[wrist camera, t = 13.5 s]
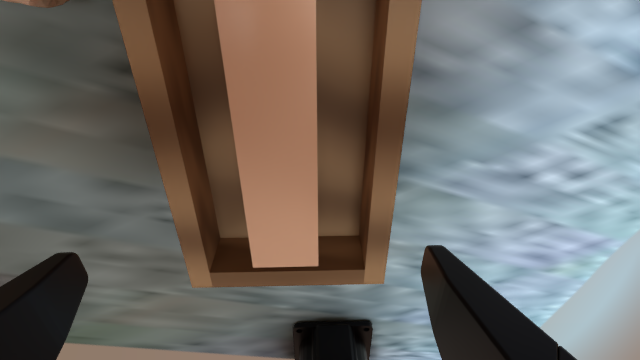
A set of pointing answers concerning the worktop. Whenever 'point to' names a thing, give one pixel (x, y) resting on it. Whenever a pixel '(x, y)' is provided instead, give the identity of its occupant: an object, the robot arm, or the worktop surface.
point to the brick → (40, 2)
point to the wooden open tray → (332, 135)
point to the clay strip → (274, 123)
